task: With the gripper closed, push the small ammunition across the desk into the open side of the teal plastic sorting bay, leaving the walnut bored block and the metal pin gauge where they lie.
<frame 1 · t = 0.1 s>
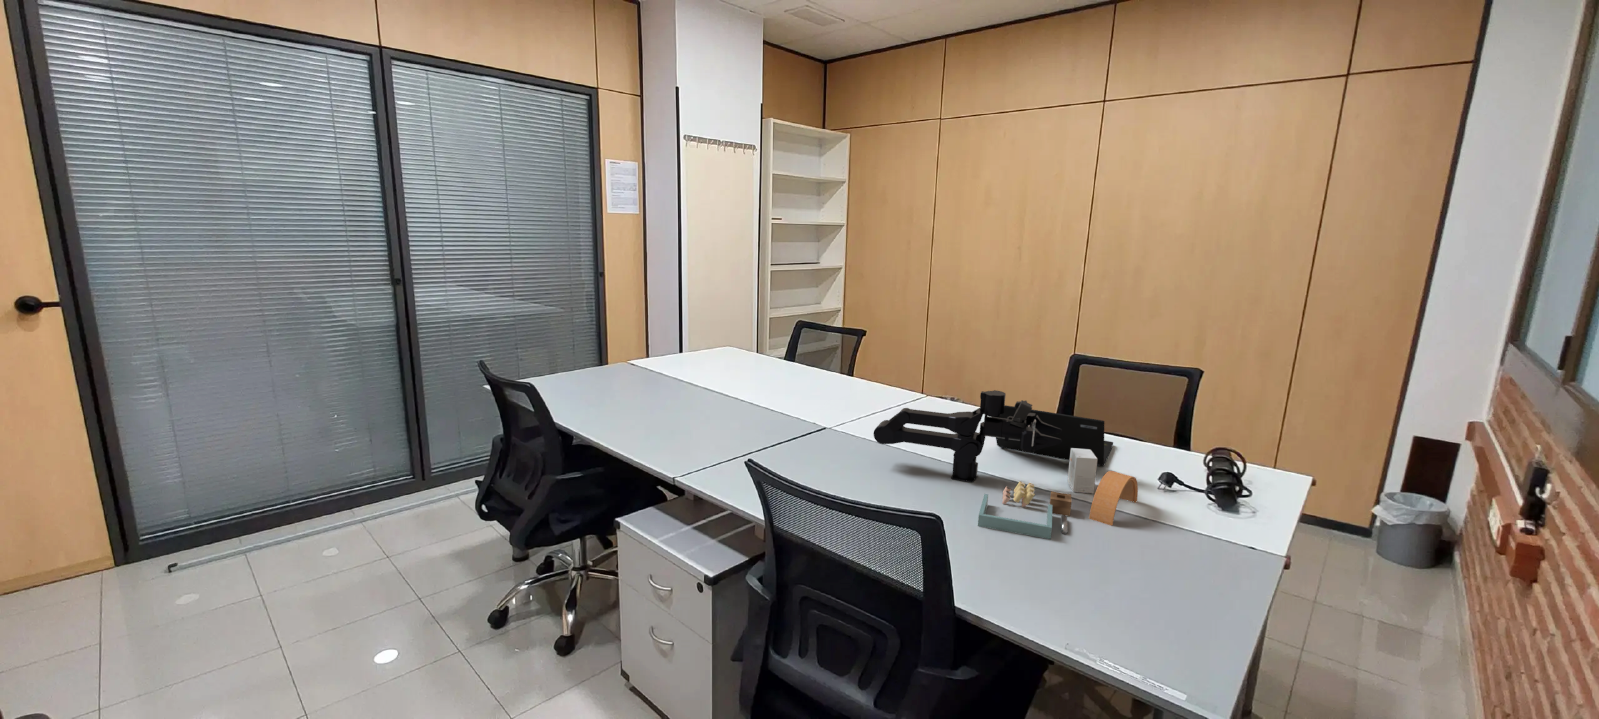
hand: (1061, 436, 176), 17 cm above the table, tool horizontal, fingers open, 9 cm apart
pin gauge: (1063, 527, 158), on the table
laptop: (1051, 454, 210), on the table
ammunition: (1017, 502, 173), on the table
bored block: (1059, 510, 167), on the table
arch: (1113, 511, 169), on the table
small box: (1079, 488, 182), on the table
tray: (1015, 520, 162), on the table
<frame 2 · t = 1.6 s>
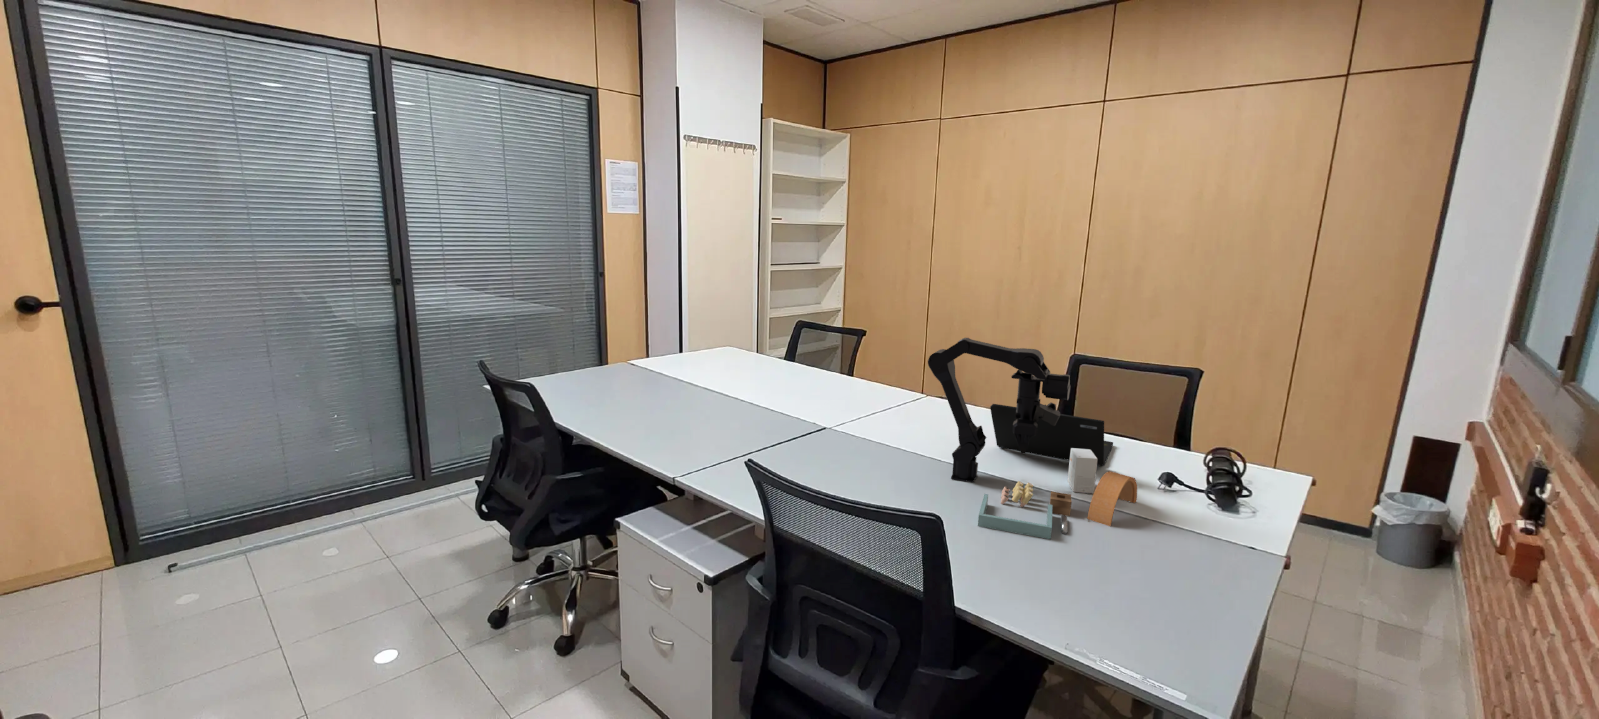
hand: (1023, 448, 178), 12 cm above the table, tool pointing down, fingers open, 8 cm apart
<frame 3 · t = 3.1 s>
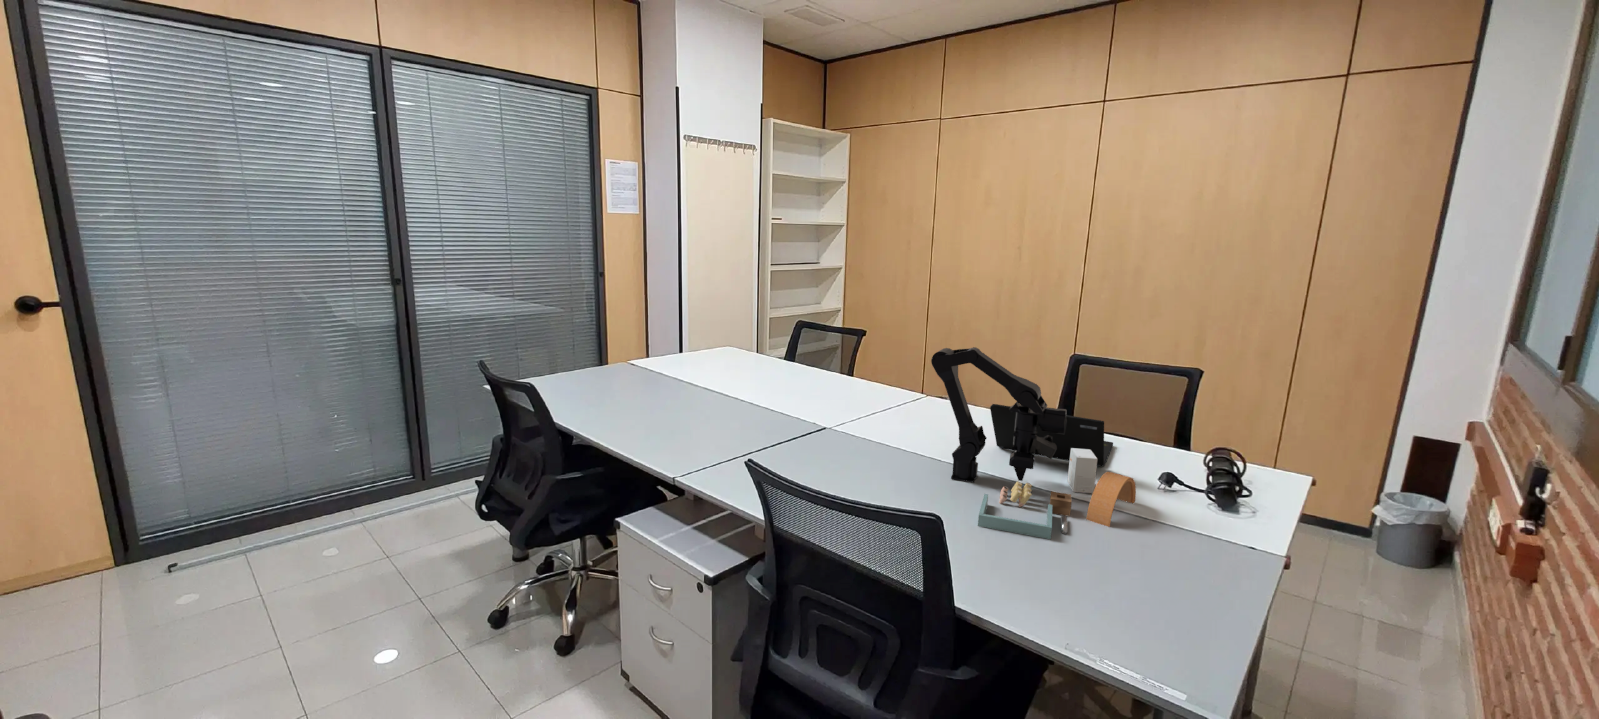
hand: (1020, 480, 180), 3 cm above the table, tool pointing down, fingers closed
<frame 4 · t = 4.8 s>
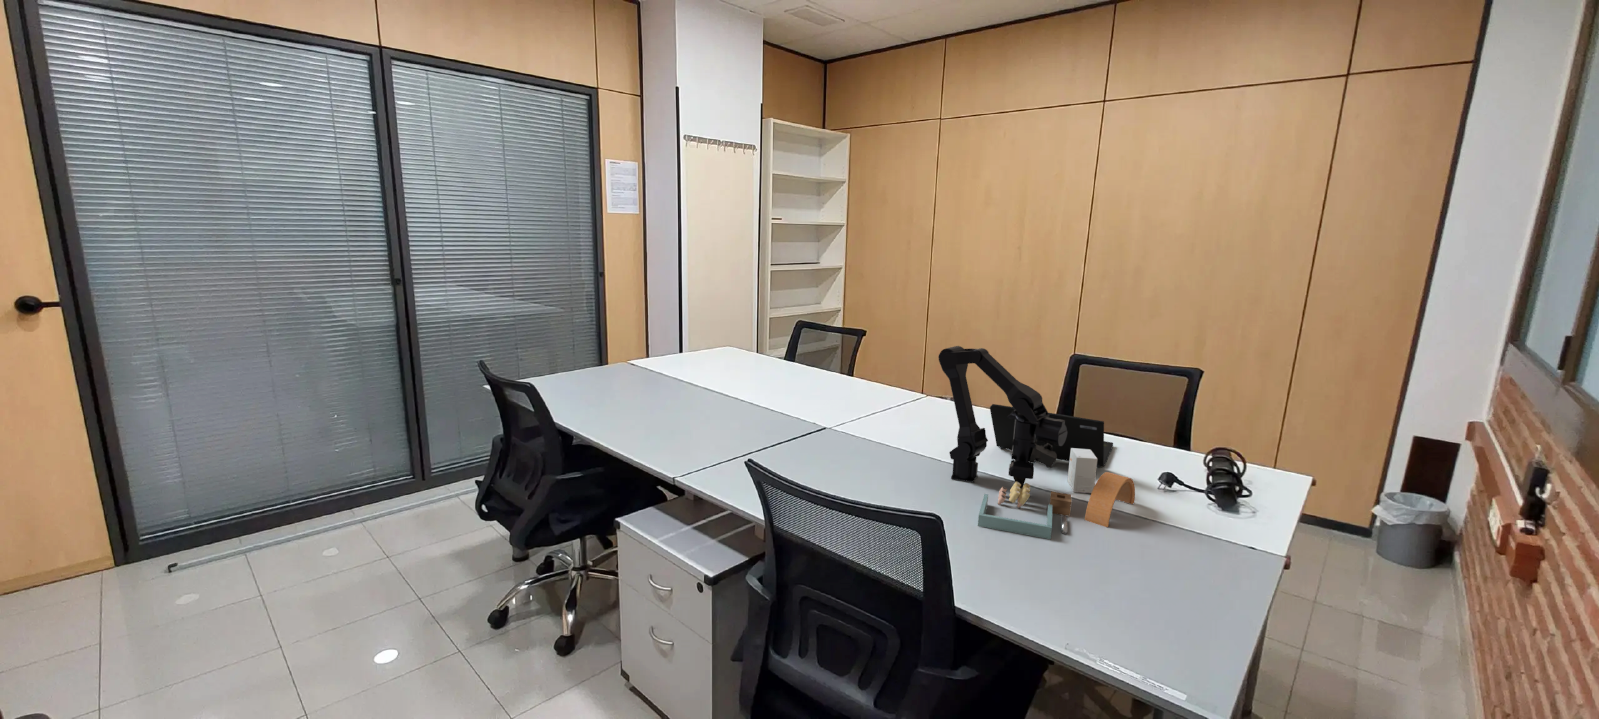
hand: (1019, 489, 176), 2 cm above the table, tool pointing down, fingers closed
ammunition: (1013, 502, 172), on the table, touching gripper
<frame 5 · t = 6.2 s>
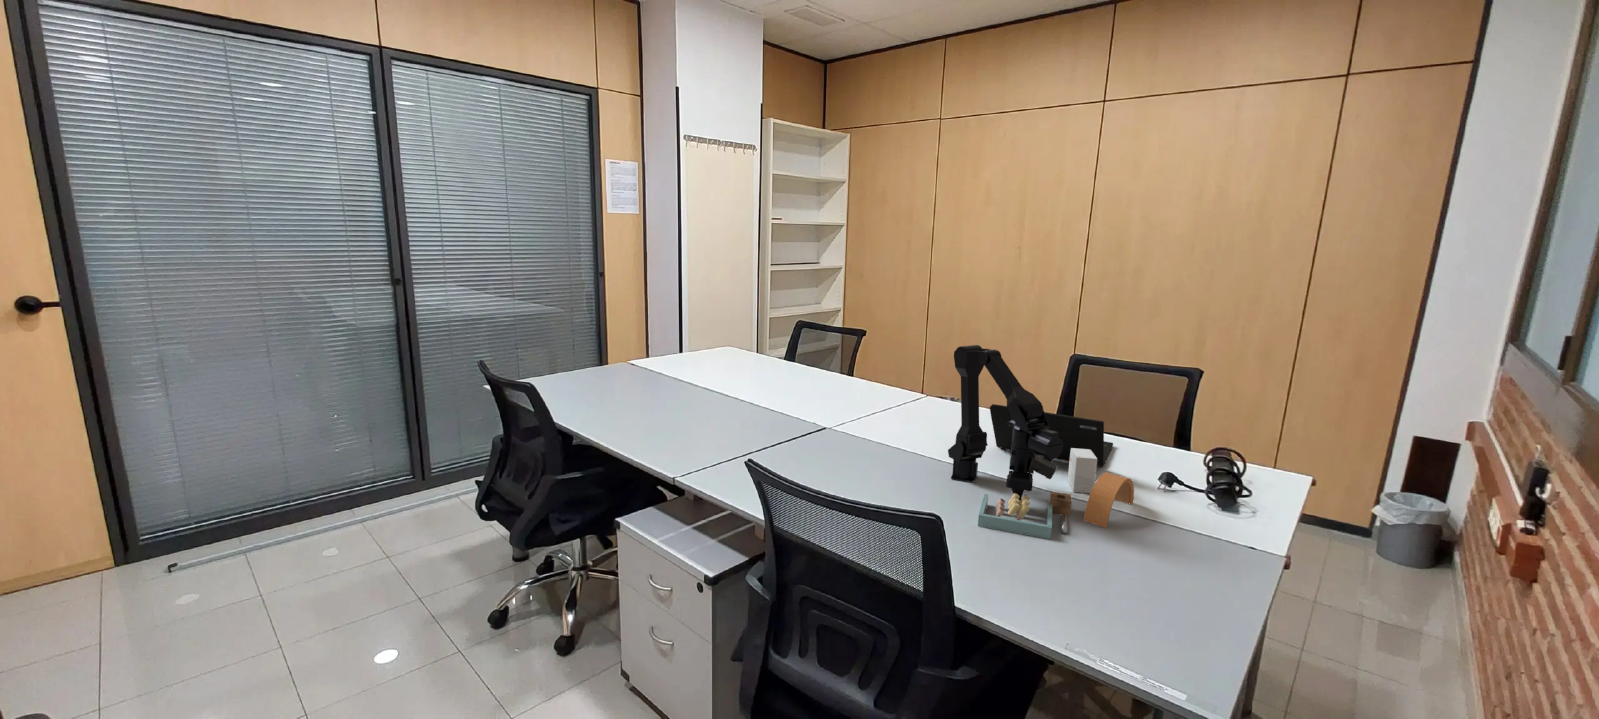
hand: (1018, 501, 169), 2 cm above the table, tool pointing down, fingers closed
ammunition: (1012, 515, 165), on the table, touching gripper
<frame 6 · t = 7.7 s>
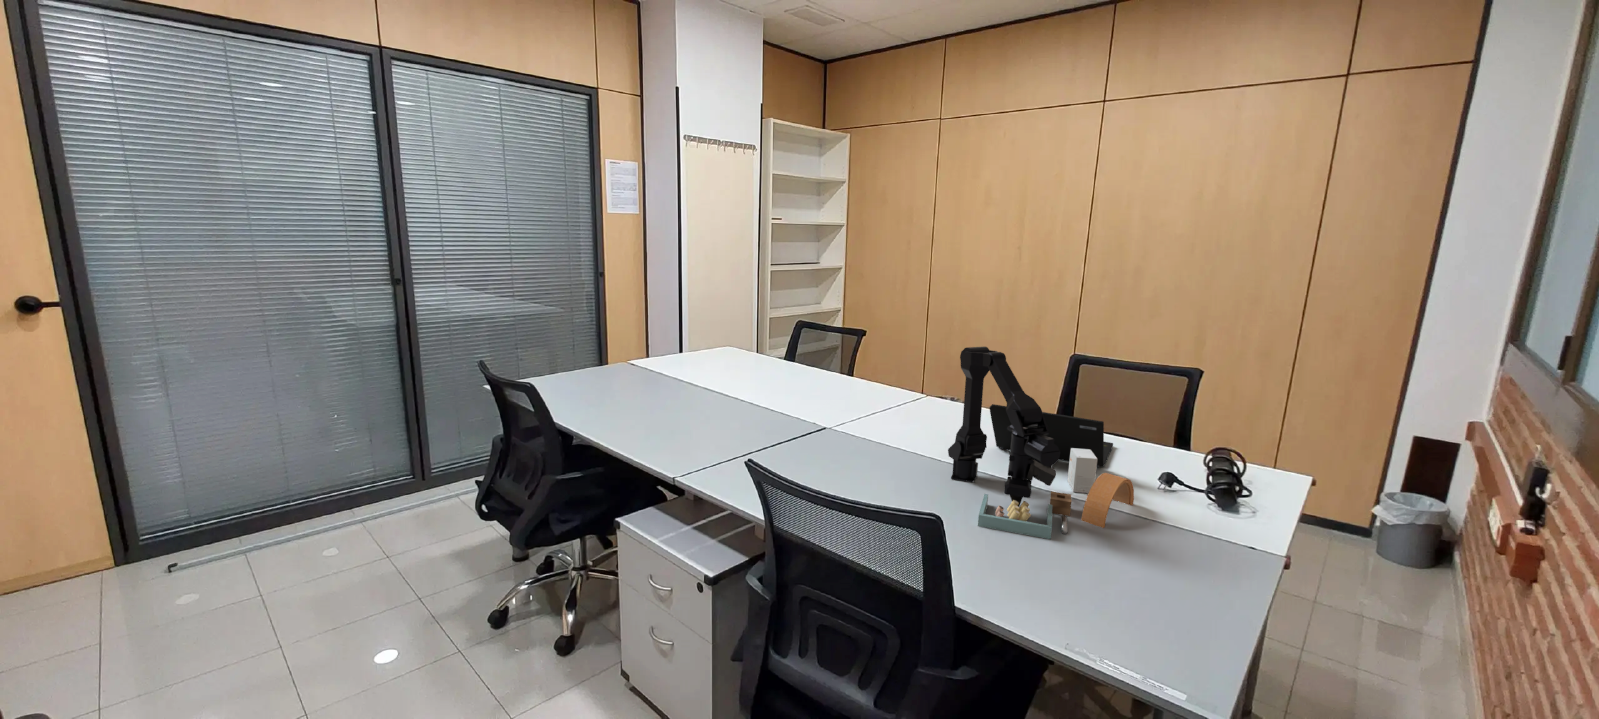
hand: (1016, 507, 165), 1 cm above the table, tool pointing down, fingers closed
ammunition: (1011, 523, 161), on the table, touching gripper
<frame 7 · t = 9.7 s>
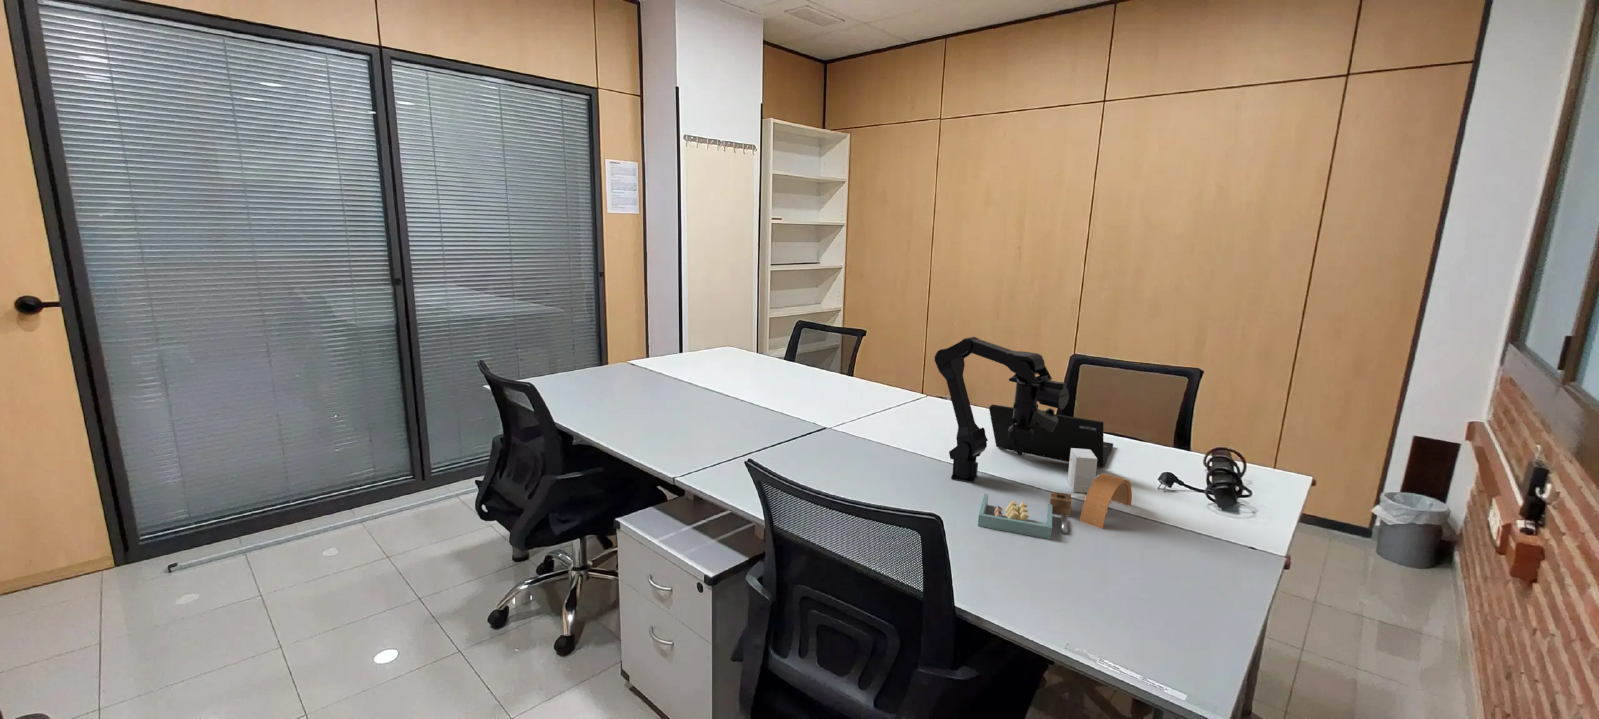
hand: (1019, 454, 174), 12 cm above the table, tool pointing down, fingers closed
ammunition: (1010, 523, 161), on the table
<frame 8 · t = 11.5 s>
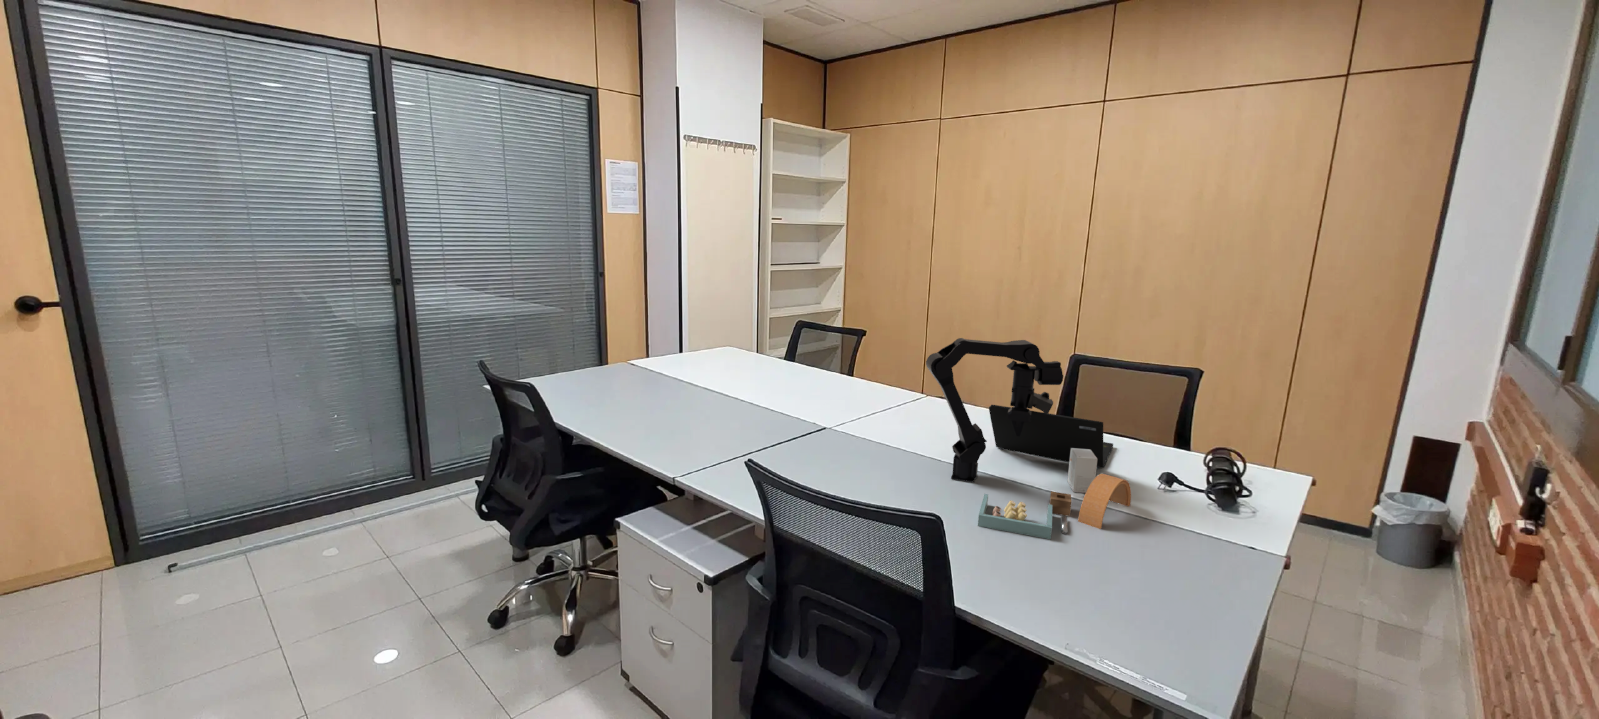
hand: (1018, 435, 186), 13 cm above the table, tool pointing down, fingers closed
at the end: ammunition inside the target area on the tray (2.1 cm from its centre), point 0.0 cm above the tray's base; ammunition moved 14.0 cm from its start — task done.
